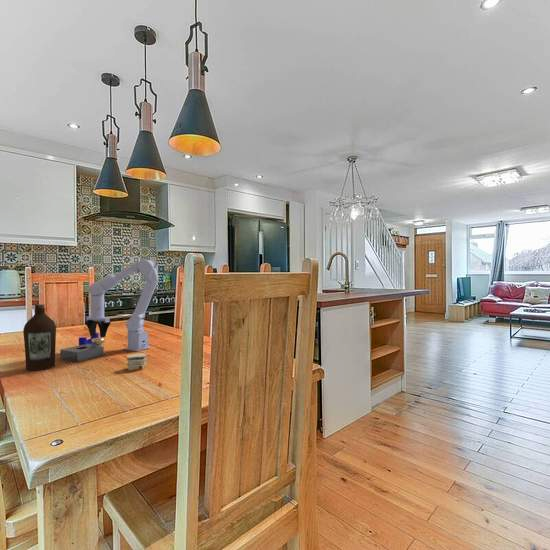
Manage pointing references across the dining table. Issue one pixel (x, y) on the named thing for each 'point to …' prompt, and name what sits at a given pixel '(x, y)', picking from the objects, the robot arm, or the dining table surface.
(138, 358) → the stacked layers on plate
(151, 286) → the robot arm
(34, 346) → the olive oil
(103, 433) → the dining table surface
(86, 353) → the block
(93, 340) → the brass pin
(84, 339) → the blue angular block
